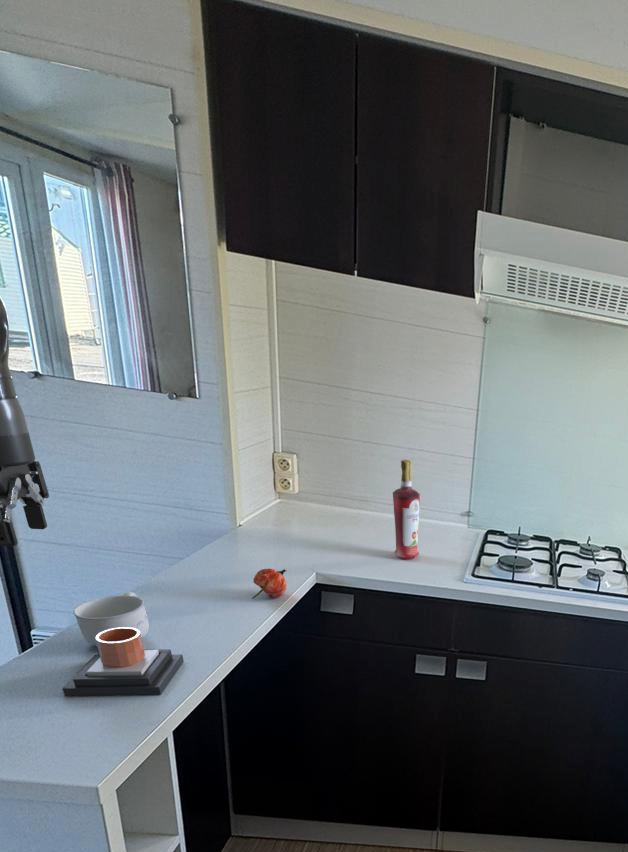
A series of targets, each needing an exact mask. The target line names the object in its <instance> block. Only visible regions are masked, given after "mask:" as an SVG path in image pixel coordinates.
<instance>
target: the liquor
mask: <svg viewBox="0 0 628 852" xmlns="http://www.w3.org/2000/svg"><path fill="white" fill-rule="evenodd" d="M400 468H401V481H400V487H399V488H397V489H395V490H394V491H393V492H392V504H393V506H392V507H393V518H394V532H395V534H394V535H395V551H394V554H395V556H396V557H398V558H399V559H400V560H406V561H409V560H413V559H415V558H416V557H417V556H419V554H420V552H419V550H418V539H419V538H418V537H419V518H420V502H421V501H420V500H421V499H420V498H421V494H420V493H419V491H417V490H416V489H413V485H412V476H411V469H412V460H409V459H401V460H400Z"/></svg>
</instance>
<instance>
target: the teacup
mask: <svg viewBox="0 0 628 852" xmlns="http://www.w3.org/2000/svg"><path fill="white" fill-rule="evenodd" d="M73 615H74V616H75V618H76V621H77V624H78V627H79V630H80V632H81V634H82V636H83V638H84V640H85V641H86V642H87V643H88V644H90V645H93V646H95V647H97V643H96V636H97V635H98V634H99V633H101V632H103V631H105V630H109V629H112V628H120V627H131V628H136V629H138V630H139V631H140V633H141V638H142V639H143V638H144V637H145V636H146V635H147V633H148V632H149V627H150V625H149V623H150V622H149V618H148V615H147V611H146V608H145V601H144V599H143V598H141V597H139V596H138V595H137V594H136V593H135V592H131V591H128V592H124V593H123V594H121V595H108V596H102V597H97V598H93V599H90V600H87V601H85V602H83V603H81V604H79V605H77V606H76V607H75V608H74V609H73Z"/></svg>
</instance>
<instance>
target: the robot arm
mask: <svg viewBox="0 0 628 852" xmlns="http://www.w3.org/2000/svg"><path fill="white" fill-rule="evenodd" d="M9 326H10V325H9V317H8V312H7V309H6V305H5V303H4V301H3V299H2V297H1V296H0V509H1V510H0V547H10V548H11V547H15V546H17V545H18V544H19V542H18V539H17V535H16V532H15V528H14V524H13V522H12V520H11V517H12V510H13V509H16V508H17V503H18V500H19V501H20V502H21V504H23V505H22V508H23V511H24V515H25V519H26V522H27V526H28V528H30V529H31V530H45V529H46V528H48V524H47V519H46V516H45V511H44V508H43V506H44V505H45V500H44V499H49V497H50V493H49V490H48V486H47V483H46V479H45V476H44V473H43V470H42V467H41V463H40V462H39V461H38V460H36V455H35V451H34V448H33V447H34V446H33V443H32V440H31V436H30V432H29V427H28V424H27V421H26V416H25V413H24V410H23V409H22V408H23V407H22V406H21V404H20V402H19V399H18V396H17V395H18V394H17V391H16V388H15V384H14V380H13V376H12V373H11V370H10V367H9V366H10V365H9V355H10V354H9V353H10V334H9V333H10V327H9Z"/></svg>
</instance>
